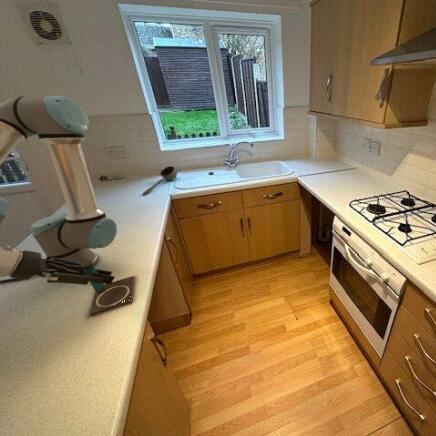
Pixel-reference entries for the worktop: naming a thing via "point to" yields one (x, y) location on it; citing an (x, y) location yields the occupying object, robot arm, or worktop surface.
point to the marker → (89, 268)
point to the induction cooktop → (114, 295)
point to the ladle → (164, 177)
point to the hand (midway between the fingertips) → (110, 277)
